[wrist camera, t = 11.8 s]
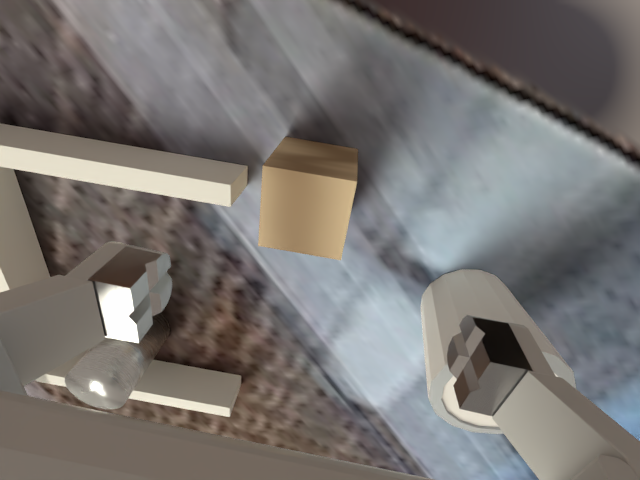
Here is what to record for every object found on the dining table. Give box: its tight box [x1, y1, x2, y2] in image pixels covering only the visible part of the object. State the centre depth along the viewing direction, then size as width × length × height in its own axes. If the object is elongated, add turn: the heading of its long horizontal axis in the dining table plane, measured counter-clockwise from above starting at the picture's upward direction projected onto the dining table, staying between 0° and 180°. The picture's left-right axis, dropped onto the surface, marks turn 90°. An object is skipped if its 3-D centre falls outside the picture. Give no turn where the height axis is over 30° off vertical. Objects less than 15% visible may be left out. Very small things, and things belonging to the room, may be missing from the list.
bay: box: [0, 123, 248, 417], centre depth 23 cm, size 16×20×3 cm
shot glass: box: [421, 269, 576, 434], centre depth 20 cm, size 7×7×7 cm
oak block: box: [258, 137, 358, 260], centre depth 17 cm, size 4×4×5 cm
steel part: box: [65, 313, 170, 409], centre depth 25 cm, size 4×4×6 cm
